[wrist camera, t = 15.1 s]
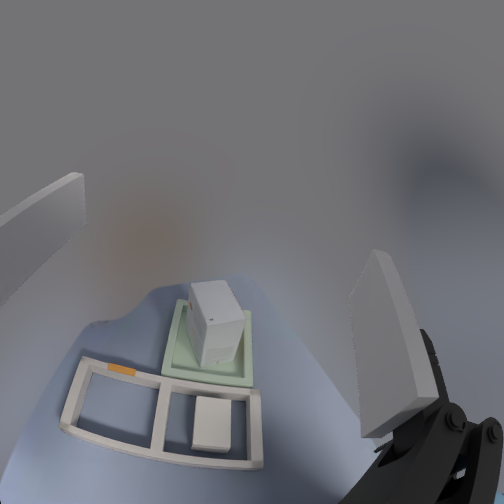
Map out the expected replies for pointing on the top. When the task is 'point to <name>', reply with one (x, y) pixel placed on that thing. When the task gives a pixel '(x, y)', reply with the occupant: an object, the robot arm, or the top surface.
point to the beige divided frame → (164, 415)
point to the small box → (213, 322)
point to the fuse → (212, 425)
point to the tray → (225, 374)
